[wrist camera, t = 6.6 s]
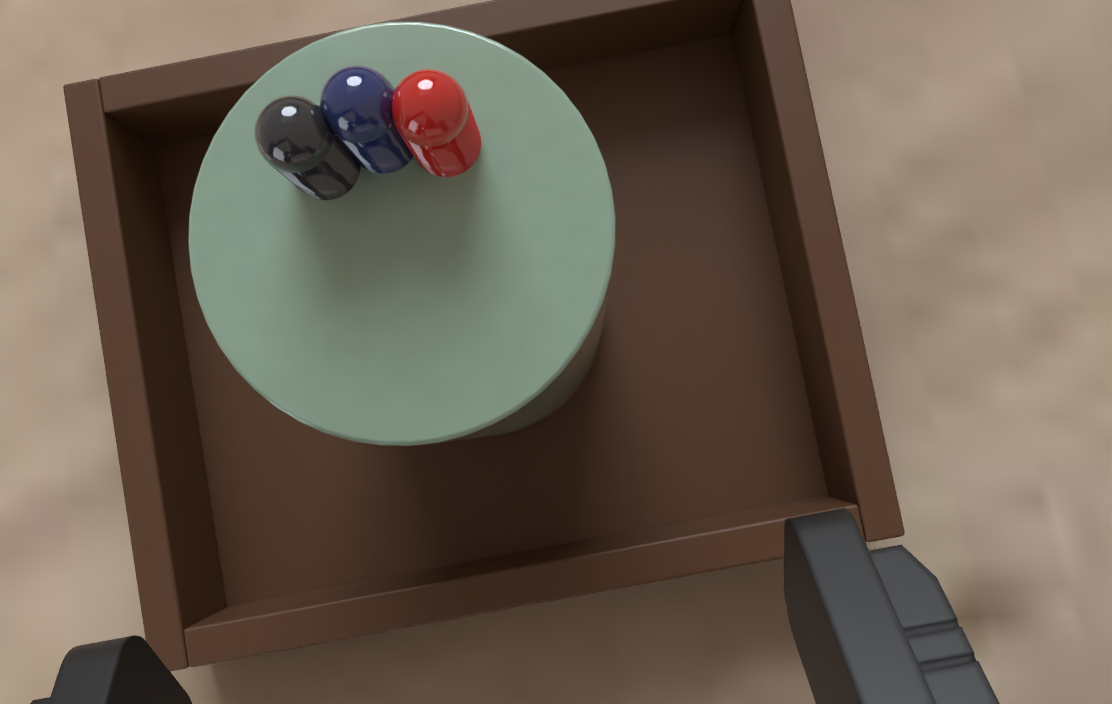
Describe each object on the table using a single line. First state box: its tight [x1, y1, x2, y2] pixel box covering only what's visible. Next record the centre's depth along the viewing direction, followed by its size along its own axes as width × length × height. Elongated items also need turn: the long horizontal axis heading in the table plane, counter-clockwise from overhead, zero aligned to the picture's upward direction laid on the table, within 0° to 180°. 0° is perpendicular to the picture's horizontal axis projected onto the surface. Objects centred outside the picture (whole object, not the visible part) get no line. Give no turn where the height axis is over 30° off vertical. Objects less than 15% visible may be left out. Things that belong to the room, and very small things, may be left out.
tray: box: [63, 0, 904, 671], centre depth 21 cm, size 16×13×3 cm
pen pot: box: [189, 22, 616, 446], centre depth 16 cm, size 6×6×12 cm
